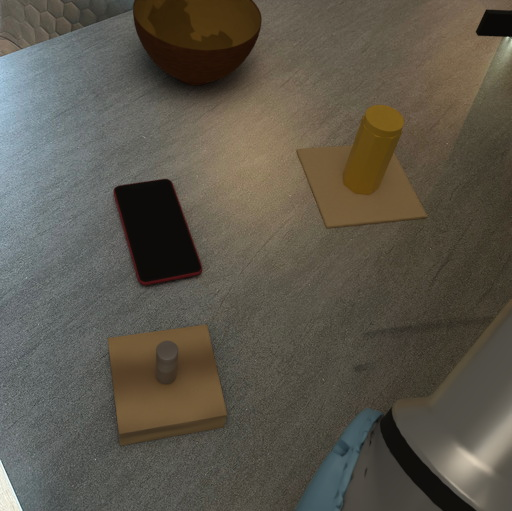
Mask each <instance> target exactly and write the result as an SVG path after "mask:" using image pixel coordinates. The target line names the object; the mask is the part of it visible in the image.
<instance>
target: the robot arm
mask: <svg viewBox="0 0 512 511" xmlns="http://www.w3.org/2000/svg"><path fill="white" fill-rule="evenodd" d="M475 34H476V35H477V37H499V38H512V9H490V8H489V9H488V8H487V9H485V10H484V12H483V15H482V16H481V19H480V21H479V24H478V25H477V28H476V30H475ZM294 511H512V297H511V298H510V299H509V301H508V302H507V303H506V304H505V305H504V307H503V308H502V309H501V310H500V311H499V313H498V314H497V315H496V316H495V317H494V318H493V320H492V321H491V322H490V323H489V325H488V326H487V327H486V328H485V329H484V331H483V332H482V333H481V335H480V336H479V337H478V338H477V339H476V340H475V341H474V343H473V344H472V346H471V347H470V348H469V349H468V350H467V351H466V352H465V354H464V355H463V356H462V358H461V359H460V360H459V361H458V362H457V363H456V365H455V366H454V367H453V369H452V370H451V371H450V372H449V373H448V374H447V376H445V378H444V379H443V381H442V382H441V383H440V384H439V386H438V387H437V388H436V389H435V390H434V391H433V392H432V394H431V395H430V394H429V395H428V396H421V397H420V396H419V397H401V398H398V399H397V400H396V401H395V402H394V403H393V405H391V407H390V408H389V409H388V411H387V412H386V413H385V414H384V413H383V412H382V411H381V410H378V409H377V410H375V409H373V408H371V407H366V408H363V409H362V410H360V412H359V413H357V414H356V415H355V417H353V419H352V420H351V421H350V422H349V423H348V425H347V426H346V427H345V429H344V430H343V432H342V433H341V435H340V437H339V438H338V440H337V441H336V442H335V444H334V445H333V447H332V448H331V450H330V451H329V452H328V453H327V454H326V456H325V458H324V459H323V460H322V462H321V463H320V465H319V466H318V468H317V469H316V471H315V473H314V475H313V476H312V478H311V479H310V482H309V483H308V485H307V486H306V488H305V490H304V492H302V495H301V497H300V498H299V500H298V502H297V504H296V506H295V508H294Z"/></svg>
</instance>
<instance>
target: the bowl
mask: <svg viewBox="0 0 512 511" xmlns="http://www.w3.org/2000/svg"><path fill="white" fill-rule="evenodd" d="M132 15H133V23H134V28H135V31H136V35H137V36H138V39H139V41H140V43H141V46H142V47H143V49H144V51H145V52H146V54H147V55H148V57H149V58H150V60H151V61H152V62H153V63H154V64H155V65H156V66H157V67H158V68H159V69H160V70H162V71H163V72H165V73H166V74H168V75H169V76H171V77H173V78H175V79H177V80H178V81H180V82H182V83H184V84H188V85H191V86H201V85H205V84H209V83H210V82H215V81H219V80H221V79H223V78H226V77H227V76H229V75H231V74H232V73H233V72H234V71H236V70H237V69H238V68H239V67H241V65H242V64H243V63H244V62H245V60H247V58H248V57H249V55H250V54H251V52H252V51H253V49H254V48H255V45H256V43H257V41H258V38H259V35H260V32H261V28H262V23H263V22H262V20H263V18H262V13H261V10H260V8H259V7H258V5H257V4H256V3H255V1H254V0H134V1H133V4H132Z"/></svg>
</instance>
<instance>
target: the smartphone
mask: <svg viewBox="0 0 512 511" xmlns="http://www.w3.org/2000/svg"><path fill="white" fill-rule="evenodd" d="M112 193H113V196H114V200H115V203H116V204H115V205H116V208H117V210H118V214H119V218H120V221H121V225H122V229H123V232H124V236H125V239H126V243H127V246H128V250H129V253H130V256H131V261H132V264H133V267H134V271H135V275H136V278H137V281H138V283H139V284H140V285H142V286H152V285H157V284H163V283H166V282H167V283H168V282H172V281H176V280H183V279H186V278H191V277H197V276H199V275H200V274H202V272H203V265H202V262H201V259H200V256H199V254H198V250H197V247H196V245H195V242H194V239H193V236H192V234H191V231H190V228H189V225H188V222H187V220H186V217H185V214H184V211H183V209H182V205H181V202H180V200H179V197H178V195H177V192H176V189H175V186H174V183H173V181H172V180H171V179H168V178H161V179H154V180H145V181H139V182H134V183H126V184H120V185H116V186H115V187H114V188H113V192H112Z"/></svg>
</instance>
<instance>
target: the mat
mask: <svg viewBox="0 0 512 511" xmlns="http://www.w3.org/2000/svg"><path fill="white" fill-rule="evenodd" d="M352 146H353V144H350V145H349V144H347V145H334V146H319V147H305V148H304V147H303V148H296V150H295V151H296V154H297V156H298V159H299V163H300V164H301V167H302V170H303V172H304V175H305V177H306V180H307V182H308V185H309V188H310V189H311V193H312V194H313V197H314V200H315V203H316V205H317V208H318V210H319V212H320V215H321V218H322V220H323V223H324V226H325V228H326V229H333V228H344V227H345V228H346V227H353V226H354V227H355V226H363V225H373V224H382V223H393V222H401V221H403V222H404V221H412V220H420V219H421V220H422V219H427V218H428V215H427V213H426V211H425V209H424V207H423V205H422V203H421V201H420V198H419V197H418V195H417V194H416V192H415V189H414V187H413V185H412V184H411V182H410V180H409V178H408V176H407V174H406V172H405V170H404V169H403V166H402V165H401V163H400V161H399V158H398V157H397V155H396V153H395V152H394V153H393V156H392V158H391V160H390V163H389V165H388V167H387V170H386V172H385V174H384V177H383V179H382V182H381V184H380V186H379V189H377V190H376V191H374V192H373V193H371V194H370V195H364V194H356V193H354V192H352V191H351V190H350V189H349V188H347V187H346V186H345V185H344V183H343V172H344V169H345V166H346V163H347V160H348V157H349V154H350V152H351V149H352Z"/></svg>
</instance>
